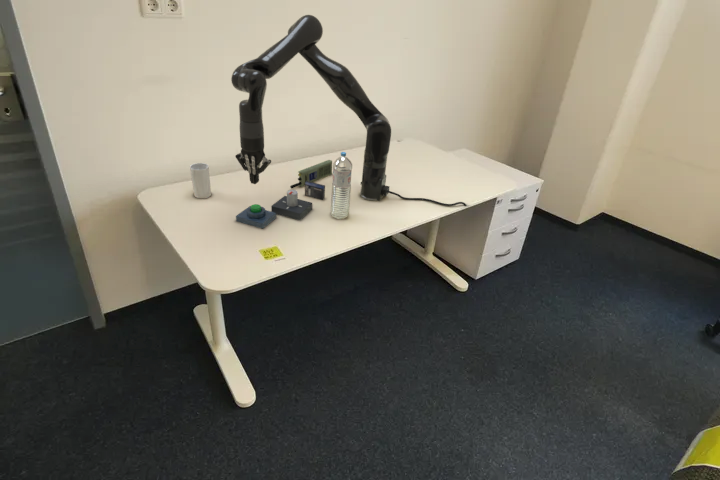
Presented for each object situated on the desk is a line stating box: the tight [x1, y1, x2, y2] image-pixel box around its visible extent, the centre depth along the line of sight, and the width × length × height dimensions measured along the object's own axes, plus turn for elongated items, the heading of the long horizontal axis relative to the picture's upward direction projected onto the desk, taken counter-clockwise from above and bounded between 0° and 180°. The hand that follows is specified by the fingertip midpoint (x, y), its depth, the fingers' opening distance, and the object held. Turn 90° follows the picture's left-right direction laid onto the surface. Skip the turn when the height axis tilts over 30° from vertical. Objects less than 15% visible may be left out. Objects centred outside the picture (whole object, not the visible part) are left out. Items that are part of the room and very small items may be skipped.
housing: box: [235, 205, 277, 230], centre depth 153 cm, size 11×9×4 cm
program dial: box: [286, 189, 299, 207], centre depth 159 cm, size 4×4×5 cm
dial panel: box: [270, 195, 313, 221], centre depth 161 cm, size 12×10×3 cm
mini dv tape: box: [304, 181, 326, 201], centre depth 172 cm, size 8×2×6 cm, turn 68°
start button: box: [250, 203, 262, 213], centre depth 152 cm, size 4×4×2 cm
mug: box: [189, 162, 212, 199], centre depth 165 cm, size 10×7×12 cm, turn 46°
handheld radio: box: [289, 159, 333, 190], centre depth 184 cm, size 7×3×25 cm
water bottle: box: [330, 151, 353, 220], centre depth 156 cm, size 7×7×25 cm
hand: (254, 182), depth 147 cm, fingers closed
